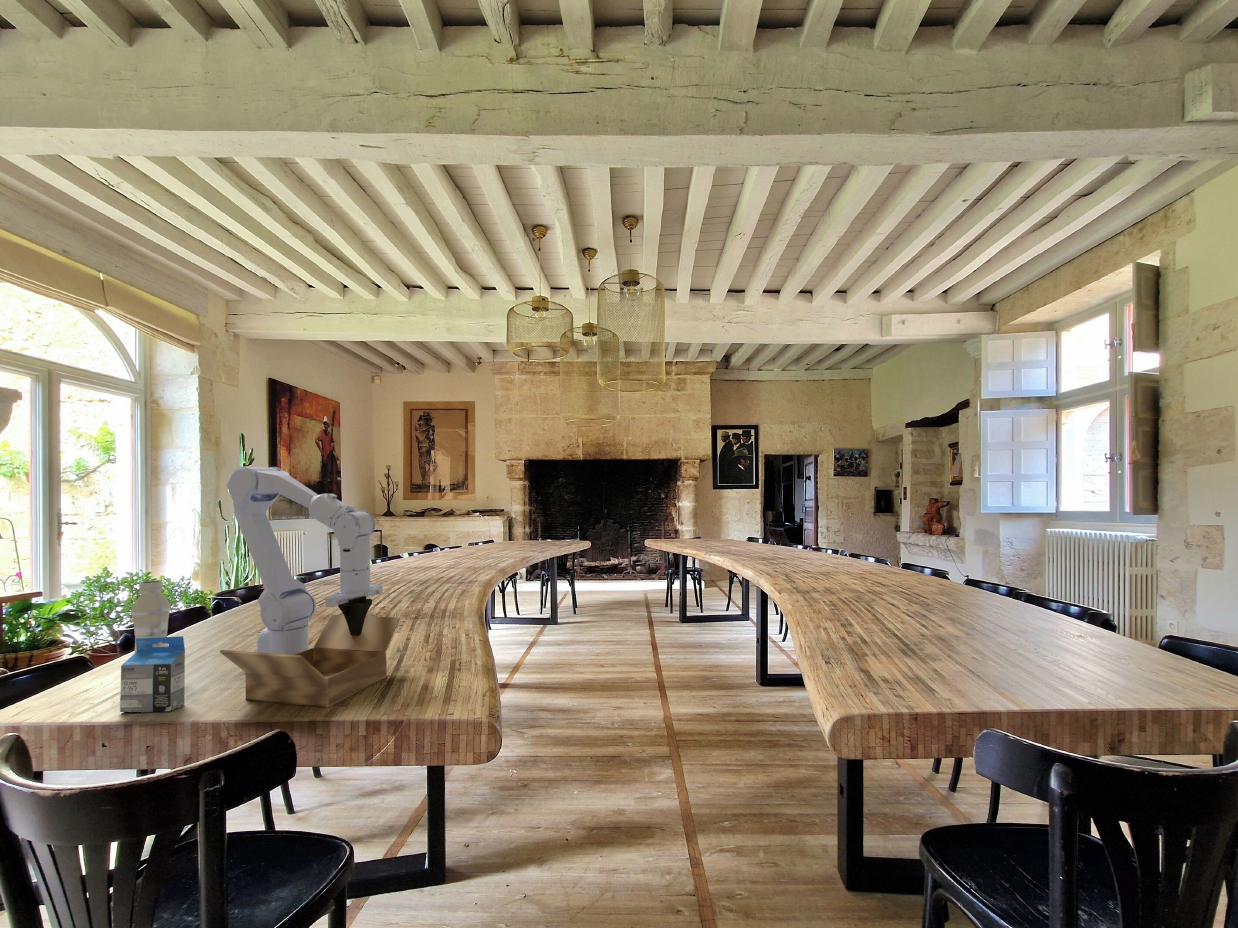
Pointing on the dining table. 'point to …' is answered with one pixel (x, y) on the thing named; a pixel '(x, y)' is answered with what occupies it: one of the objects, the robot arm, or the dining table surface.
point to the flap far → (370, 639)
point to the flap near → (273, 664)
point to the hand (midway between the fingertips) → (355, 635)
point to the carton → (341, 680)
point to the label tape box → (154, 676)
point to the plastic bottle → (151, 612)
